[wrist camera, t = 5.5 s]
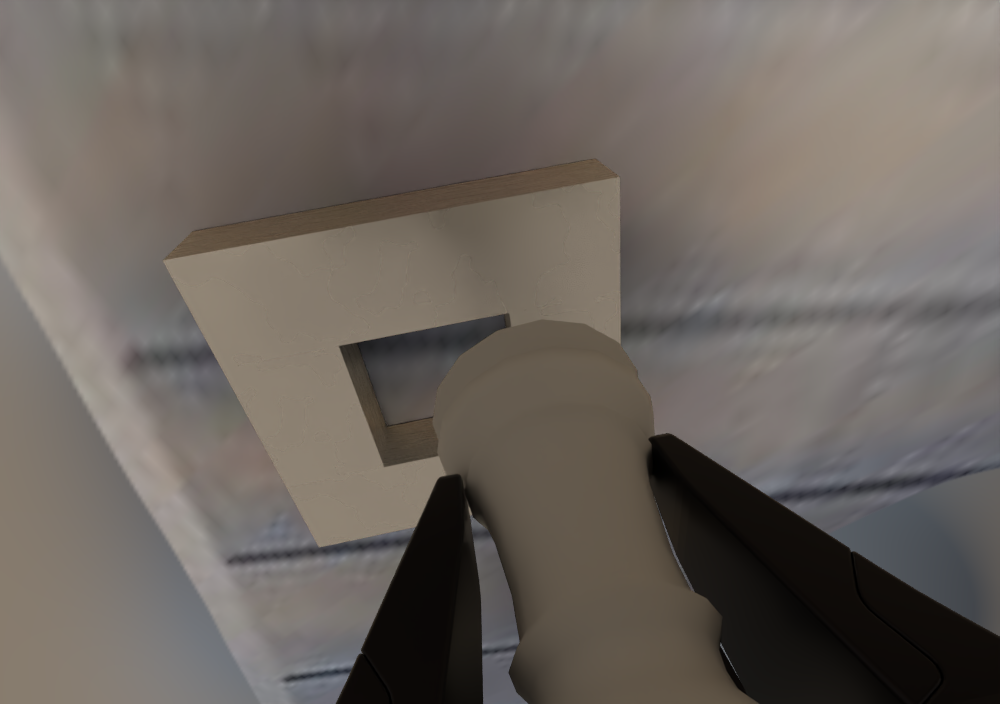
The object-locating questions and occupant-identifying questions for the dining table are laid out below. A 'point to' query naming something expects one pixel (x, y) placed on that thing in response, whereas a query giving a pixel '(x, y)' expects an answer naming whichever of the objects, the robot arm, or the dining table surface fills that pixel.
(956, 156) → the dining table surface
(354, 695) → the robot arm
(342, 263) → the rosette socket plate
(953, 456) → the dining table surface
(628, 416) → the rook chess piece
